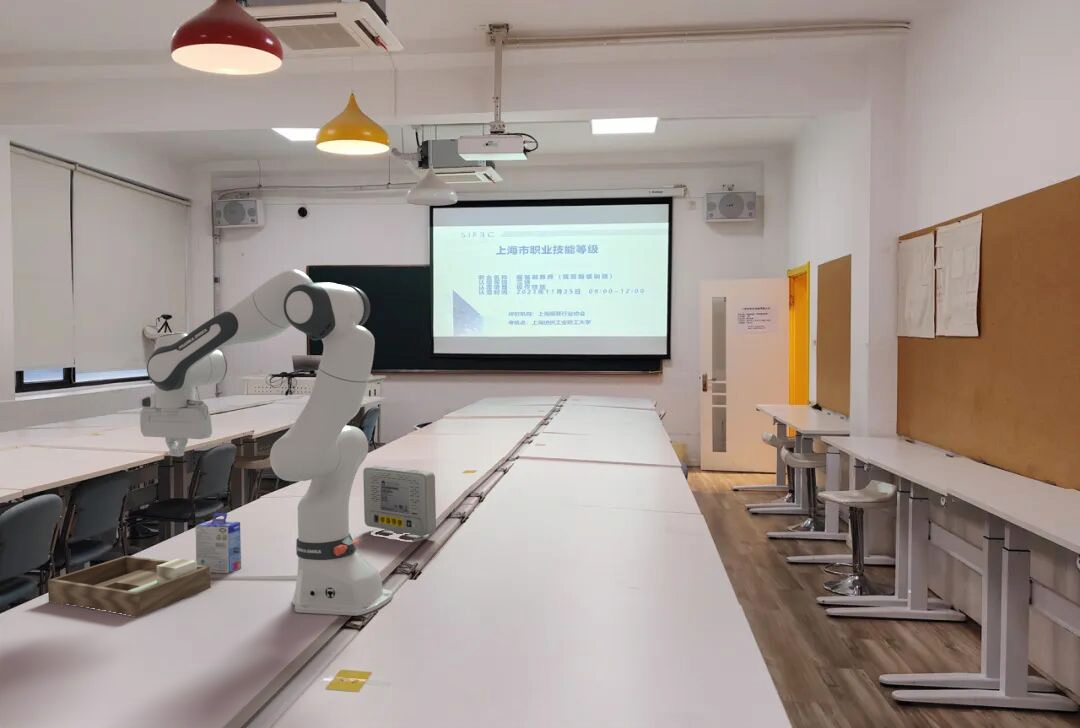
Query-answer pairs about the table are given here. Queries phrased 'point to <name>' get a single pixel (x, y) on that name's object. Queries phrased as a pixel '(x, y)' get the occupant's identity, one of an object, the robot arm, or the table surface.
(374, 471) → the network device
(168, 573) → the block
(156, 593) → the box
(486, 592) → the table surface
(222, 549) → the ink cartridge box
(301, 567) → the robot arm
